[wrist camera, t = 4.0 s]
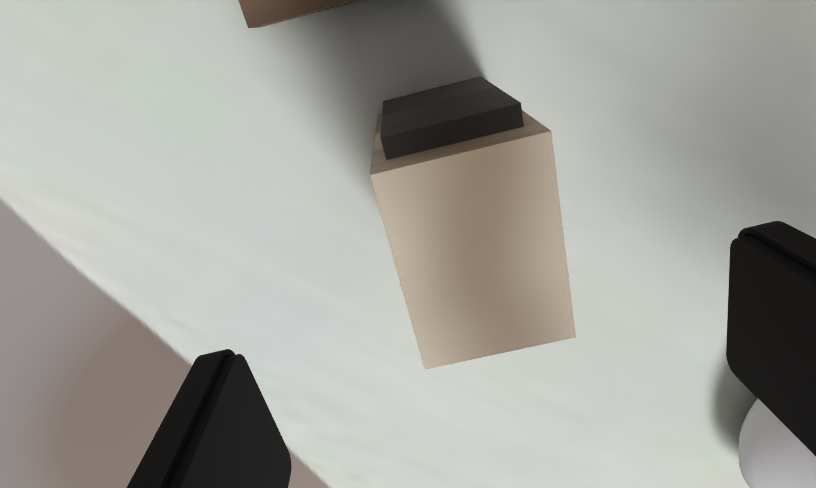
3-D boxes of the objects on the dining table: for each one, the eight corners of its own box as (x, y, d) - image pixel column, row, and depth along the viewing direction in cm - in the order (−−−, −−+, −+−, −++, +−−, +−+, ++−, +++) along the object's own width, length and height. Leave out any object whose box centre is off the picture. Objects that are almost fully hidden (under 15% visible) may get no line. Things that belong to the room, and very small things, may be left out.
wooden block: (413, 251, 22) (424, 369, 14) (373, 99, 19) (363, 150, 12) (512, 228, 21) (576, 337, 14) (487, 70, 19) (547, 105, 11)
